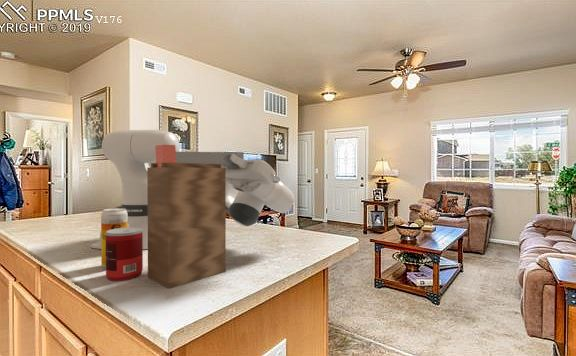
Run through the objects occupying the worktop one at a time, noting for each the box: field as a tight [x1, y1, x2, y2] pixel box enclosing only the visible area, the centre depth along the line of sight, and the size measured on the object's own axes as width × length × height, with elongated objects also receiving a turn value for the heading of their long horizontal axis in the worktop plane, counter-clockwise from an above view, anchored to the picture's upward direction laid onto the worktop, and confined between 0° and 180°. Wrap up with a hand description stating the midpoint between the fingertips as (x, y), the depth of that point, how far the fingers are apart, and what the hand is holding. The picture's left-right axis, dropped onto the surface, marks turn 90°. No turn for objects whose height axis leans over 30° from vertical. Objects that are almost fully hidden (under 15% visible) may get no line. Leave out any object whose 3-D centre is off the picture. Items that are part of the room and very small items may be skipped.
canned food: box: [105, 227, 144, 282], centre depth 73 cm, size 8×8×11 cm
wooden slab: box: [146, 163, 227, 289], centre depth 74 cm, size 15×10×27 cm, turn 138°
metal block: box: [155, 145, 245, 167], centre depth 77 cm, size 23×4×5 cm, turn 138°
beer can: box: [100, 208, 128, 269], centre depth 81 cm, size 6×6×15 cm
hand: (224, 156), depth 82 cm, fingers closed on metal block, 3 cm apart
